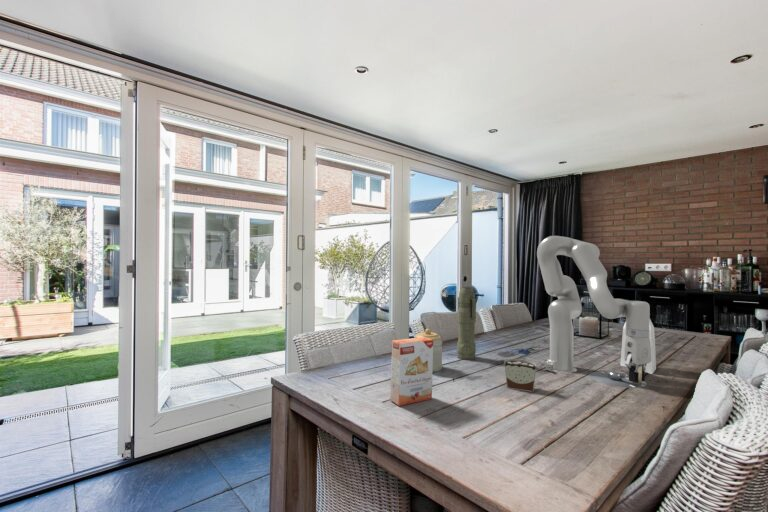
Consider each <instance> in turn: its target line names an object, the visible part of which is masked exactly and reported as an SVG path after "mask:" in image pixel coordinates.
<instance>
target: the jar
mask: <svg viewBox="0 0 768 512" xmlns="http://www.w3.org/2000/svg"><path fill="white" fill-rule="evenodd" d="M414 336H415V337H414V338H419V337H426V338H429V339H432V340H433V372H432V373H435V372H439V371H441V370H442V367H443V348H442V344H443V340H441V335H439V334H438V333H436V332H432V329H430V328H426V329H425V330H424V331H423V332H418V334H416V335H414Z"/></svg>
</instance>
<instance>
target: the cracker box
mask: <svg viewBox="0 0 768 512" xmlns="http://www.w3.org/2000/svg"><path fill="white" fill-rule="evenodd" d="M390 361H391V363H390V369H391V370H390V402H392V403H394V404H395V405H397V406H398V407H400V406H406V405H410V404H415V403H419V402H423V401H424V402H425V401H428V400H431V399H433V373H434V372H433V340H432V339H429V338H426V337H419V338H416V337H412V338H401V339H393V340H392V341H391V360H390Z"/></svg>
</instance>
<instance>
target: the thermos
mask: <svg viewBox="0 0 768 512" xmlns="http://www.w3.org/2000/svg"><path fill="white" fill-rule="evenodd" d="M458 292H459V293H458V297H457V323H458V326H457V327H458V333H457V334H458V335H457V337H458V340H457V343H456V352H457V358H458V359H460V360H465V361H470V360H471V361H472V360H475V359H476V348H477V347H476V346H477V345H476V341H475V335H476V334H475V333H476V331H475V329H476V328H475V326H476V325H475V324H476V319H477V300H476V298H475V297H476V295H475V290H474V288H473V287H471V286H462V287H460V289H459V291H458Z"/></svg>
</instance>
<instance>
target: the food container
mask: <svg viewBox="0 0 768 512" xmlns="http://www.w3.org/2000/svg"><path fill="white" fill-rule="evenodd" d="M502 367H504V370H505V371H504V373H505V381H506V382H505V383H506V388H507V389H513V390H518V391H525V392H534V391H535V390H534V389H535V382H536V381H535V380H536V373H537V372H538V371H539V370H538V366H537V364H536V363H535V362H533V361H530V360H526V359H519V358H515V359H514V358H513V359H512V358H511V359H509V358H508V359H506V360H504V362H503V365H502Z"/></svg>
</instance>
